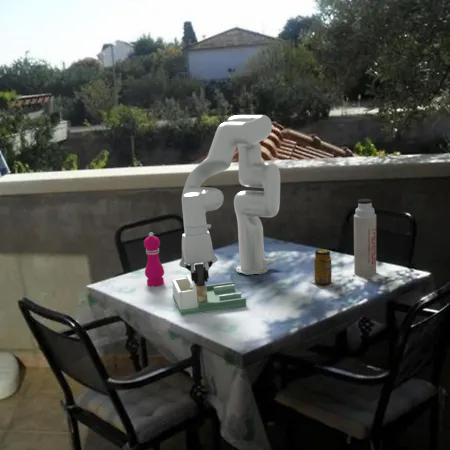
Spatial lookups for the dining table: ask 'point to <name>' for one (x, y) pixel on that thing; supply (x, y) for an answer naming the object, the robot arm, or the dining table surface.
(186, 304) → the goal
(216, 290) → the kicker track
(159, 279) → the pepper mill
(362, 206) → the thermos bottle
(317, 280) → the condiment
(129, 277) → the dining table surface
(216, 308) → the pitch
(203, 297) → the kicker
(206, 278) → the robot arm
